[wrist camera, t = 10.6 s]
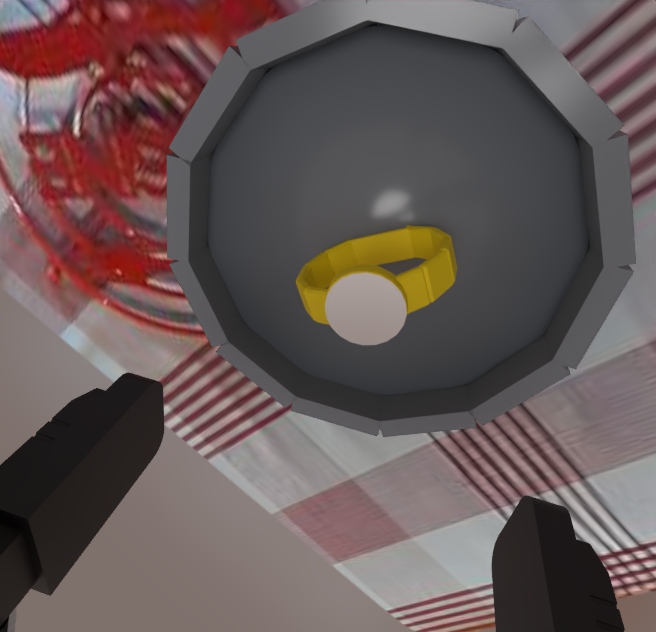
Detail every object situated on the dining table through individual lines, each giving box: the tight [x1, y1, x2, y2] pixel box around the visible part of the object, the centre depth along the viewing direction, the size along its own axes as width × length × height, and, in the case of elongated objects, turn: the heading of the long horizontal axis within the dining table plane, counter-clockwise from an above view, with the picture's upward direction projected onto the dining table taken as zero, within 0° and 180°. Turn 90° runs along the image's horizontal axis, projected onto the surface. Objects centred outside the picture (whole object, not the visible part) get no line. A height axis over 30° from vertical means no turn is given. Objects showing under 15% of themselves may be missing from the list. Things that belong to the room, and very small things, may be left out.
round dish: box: [167, 0, 636, 437], centre depth 20 cm, size 18×18×2 cm
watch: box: [296, 225, 457, 345], centre depth 18 cm, size 6×3×6 cm, turn 107°
